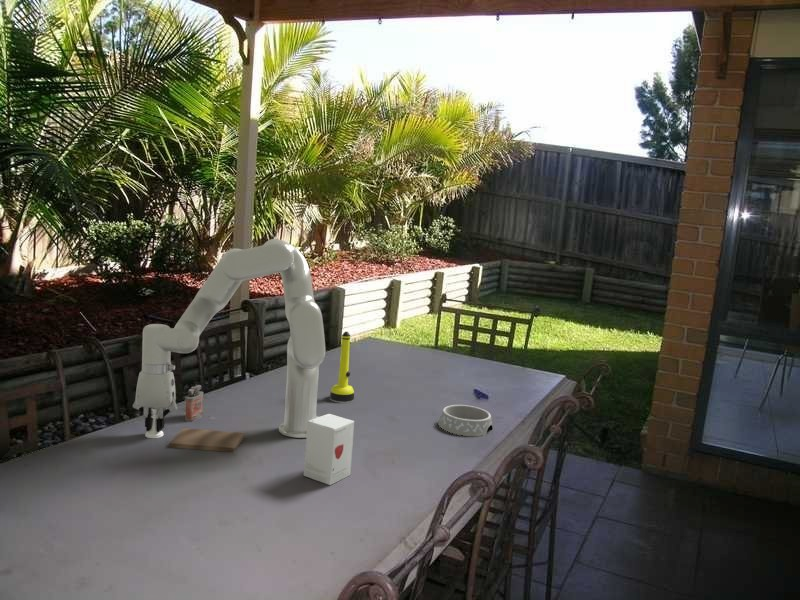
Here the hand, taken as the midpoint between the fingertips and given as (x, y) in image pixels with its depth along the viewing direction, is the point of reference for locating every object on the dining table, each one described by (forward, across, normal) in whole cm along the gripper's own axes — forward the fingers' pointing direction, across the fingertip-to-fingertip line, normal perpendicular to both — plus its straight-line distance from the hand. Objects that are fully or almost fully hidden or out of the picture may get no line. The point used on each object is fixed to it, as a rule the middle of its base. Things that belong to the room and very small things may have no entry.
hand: (154, 429), depth 186 cm
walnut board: (+2, -16, +2) cm, 16 cm away
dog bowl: (+2, -93, -28) cm, 97 cm away
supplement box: (+2, -52, +19) cm, 55 cm away
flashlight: (+2, -50, -48) cm, 69 cm away
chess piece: (+2, 0, 0) cm, 2 cm away
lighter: (+2, -6, -17) cm, 18 cm away
